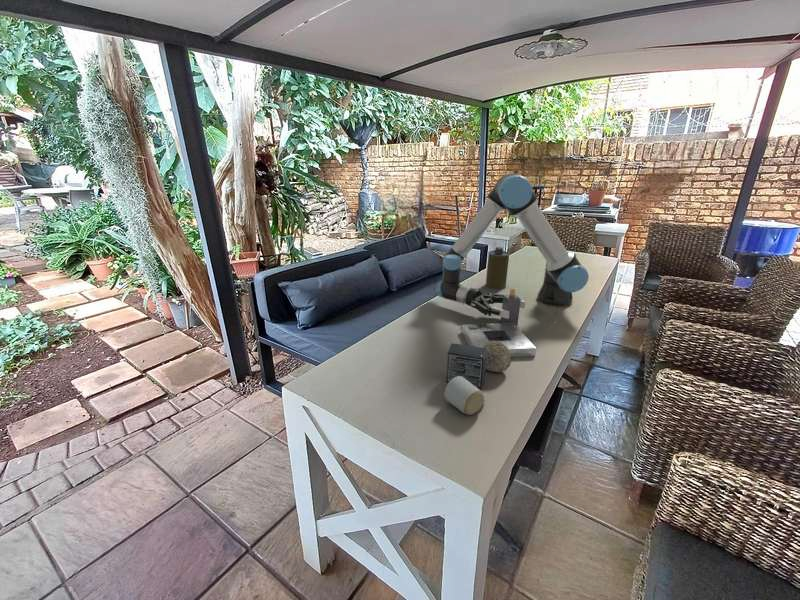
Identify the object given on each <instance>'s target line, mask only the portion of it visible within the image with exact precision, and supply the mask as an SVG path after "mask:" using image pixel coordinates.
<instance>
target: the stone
mask: <svg viewBox="0 0 800 600" xmlns="http://www.w3.org/2000/svg"><path fill="white" fill-rule="evenodd" d="M483 348H487V352H486V364H485V371H490V372H495V373H496V372H497V373H503V372H506V371H507V370H508V369H509V368H510V365H511V361H512V360H511V358H512V357H511V355H510V351H509V349H508V348H507V347H506V346H505V345H504V344H503V343H501V342H499V341H488V342H487V343H486V344H485V345H484V346H483Z"/></svg>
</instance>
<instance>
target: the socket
mask: <svg viewBox="0 0 800 600" xmlns="http://www.w3.org/2000/svg"><path fill="white" fill-rule="evenodd" d="M461 334H462V335H463V337H464V339H465V340H466V342H467V345H468V346H474V347H481V348H483V346H484V345H485V344H486V343H487V342H488V341H499V342H501V343H503V344H504V345H505V346H506V347H507V348H508V349H509V351H510V355H511V358H516V357H517V358H519V357H520V358H521V357H535V356H536V353H537V347H536V346H535V345H534V344H533V343H532V341H530V340H531V339H529V338H528V337H527V336H526V335H525V333H523V332H522V331H521V329H520V328H519V326H518V325H517V326H516V325H515V324H514V323H500V322H499V323H478V324H477V323H475V324H473V323H471V324H470V323H469V324H461Z"/></svg>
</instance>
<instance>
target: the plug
mask: <svg viewBox="0 0 800 600" xmlns="http://www.w3.org/2000/svg"><path fill="white" fill-rule="evenodd" d="M521 300H522V299H521V298H520V297H519V296H518V295H517V294H516V289H514V288H510V290H509V294H503V302H502V303H501V304H502V305H501V309H503V310H506V311H509V318H508V319H507V318H504V317H500V320H499V321H500V322H499V323H514V324H515V325H516V326H517V327H518V325H519V318H520V317H519V316H520V309H521V307H520V302H521Z"/></svg>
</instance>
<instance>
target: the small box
mask: <svg viewBox="0 0 800 600" xmlns="http://www.w3.org/2000/svg"><path fill="white" fill-rule="evenodd" d="M486 352H487V348H481V347H474V346H469V345H468V344H460V343H451V344H450V347H449V348H448V350H447V368H446V372H447V373H446V380H445V381H446V382H445V383H446V384H448V383H449V382H450V381H451V380H452V379H453V378H455V377H457V376H462V377H464V378H465V379H466V380H467V381H469V382H470V383H471V384H472V385H474V386H475V387H477V388H478V389H479V390H483V386H484V382H485V373H486V369H485V364H486Z"/></svg>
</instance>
